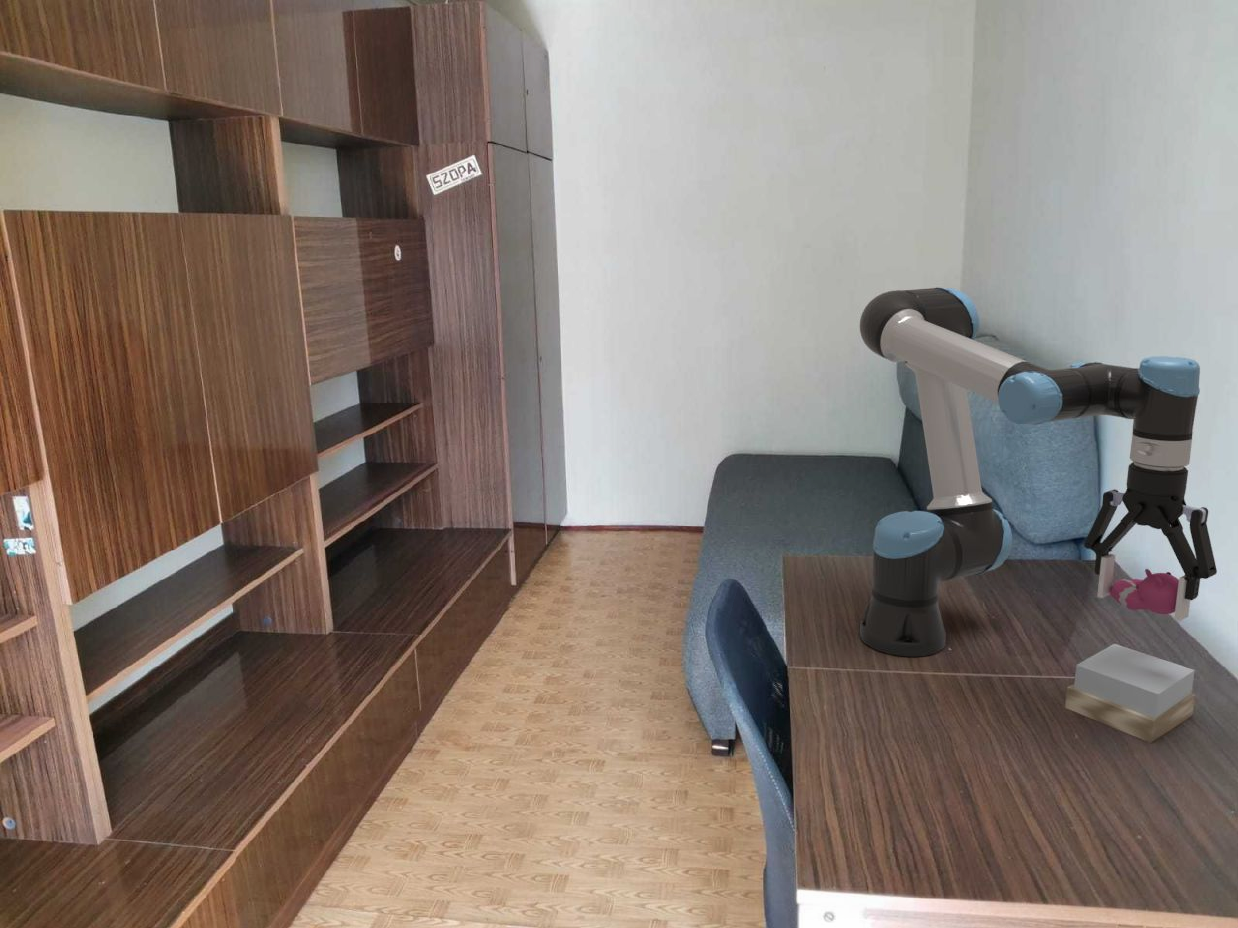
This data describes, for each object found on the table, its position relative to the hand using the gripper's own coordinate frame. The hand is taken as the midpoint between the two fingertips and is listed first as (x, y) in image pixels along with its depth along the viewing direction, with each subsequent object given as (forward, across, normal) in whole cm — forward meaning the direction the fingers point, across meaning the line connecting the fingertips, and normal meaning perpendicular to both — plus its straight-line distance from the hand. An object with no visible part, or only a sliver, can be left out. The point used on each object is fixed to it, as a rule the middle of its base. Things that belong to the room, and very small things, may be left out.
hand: (1141, 606), depth 138 cm
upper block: (+14, 0, 0) cm, 14 cm away
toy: (+1, 0, +3) cm, 3 cm away
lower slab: (+18, 0, 0) cm, 18 cm away
